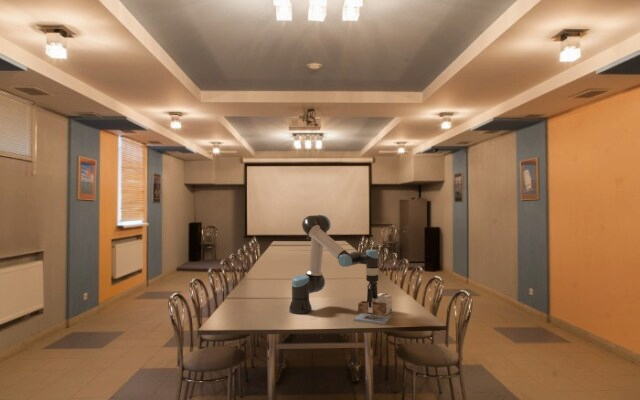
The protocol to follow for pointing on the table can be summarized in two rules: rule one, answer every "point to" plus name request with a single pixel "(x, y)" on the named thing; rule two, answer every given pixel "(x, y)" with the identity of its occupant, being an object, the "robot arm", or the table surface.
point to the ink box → (385, 301)
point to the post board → (372, 318)
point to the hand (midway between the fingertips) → (372, 310)
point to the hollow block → (377, 308)
